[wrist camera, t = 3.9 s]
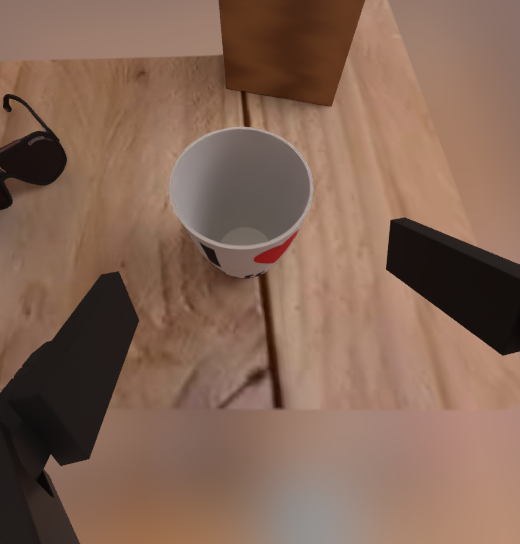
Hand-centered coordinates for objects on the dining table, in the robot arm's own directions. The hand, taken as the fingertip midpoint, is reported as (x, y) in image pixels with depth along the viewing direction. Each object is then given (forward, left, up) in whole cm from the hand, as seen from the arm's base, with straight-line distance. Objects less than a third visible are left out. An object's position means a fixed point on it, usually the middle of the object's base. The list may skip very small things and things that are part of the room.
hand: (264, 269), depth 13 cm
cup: (-2, +5, -11) cm, 12 cm away
